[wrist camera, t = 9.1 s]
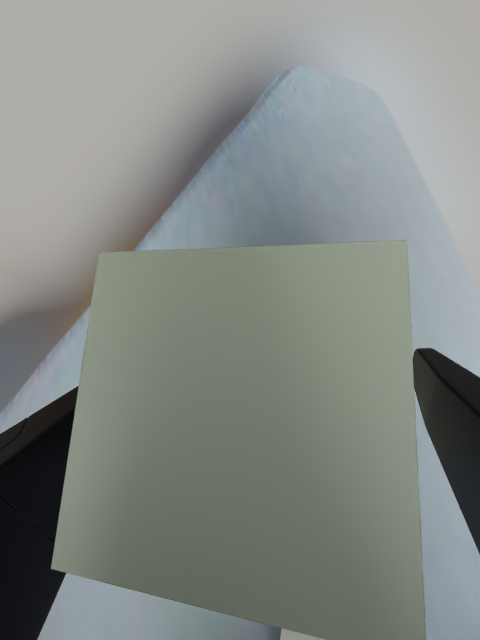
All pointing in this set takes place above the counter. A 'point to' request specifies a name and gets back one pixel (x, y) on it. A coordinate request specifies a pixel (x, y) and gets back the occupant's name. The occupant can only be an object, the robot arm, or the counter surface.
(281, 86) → the counter surface
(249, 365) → the sage pillar
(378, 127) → the counter surface
